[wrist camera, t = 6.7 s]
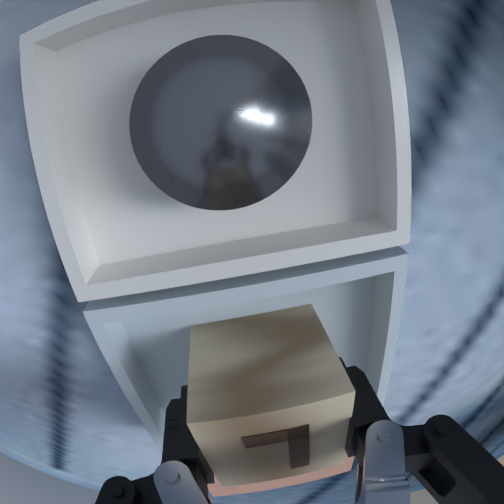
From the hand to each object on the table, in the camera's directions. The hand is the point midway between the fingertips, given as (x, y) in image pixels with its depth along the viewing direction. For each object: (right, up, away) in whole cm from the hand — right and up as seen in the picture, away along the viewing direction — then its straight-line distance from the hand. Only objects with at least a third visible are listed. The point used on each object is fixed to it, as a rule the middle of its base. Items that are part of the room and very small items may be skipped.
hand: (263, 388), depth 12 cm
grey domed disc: (-1, +10, -2) cm, 10 cm away
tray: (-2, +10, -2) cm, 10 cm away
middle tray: (0, +1, +2) cm, 2 cm away
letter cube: (0, +1, +2) cm, 2 cm away
